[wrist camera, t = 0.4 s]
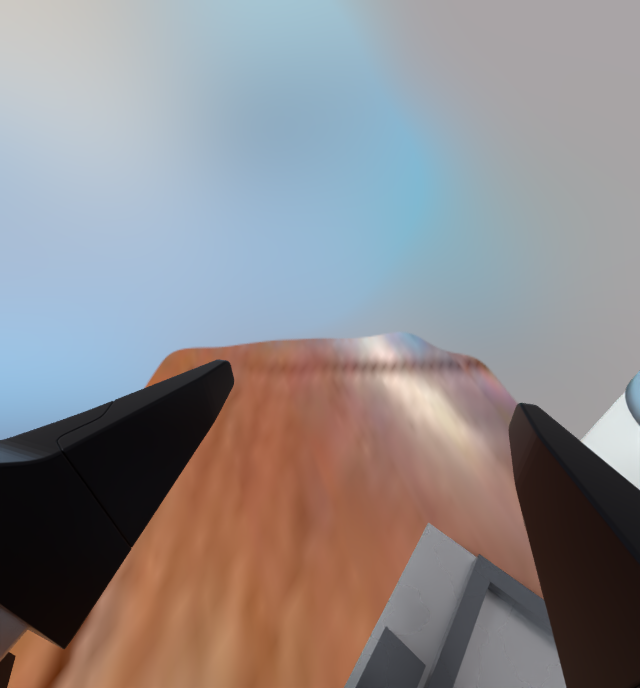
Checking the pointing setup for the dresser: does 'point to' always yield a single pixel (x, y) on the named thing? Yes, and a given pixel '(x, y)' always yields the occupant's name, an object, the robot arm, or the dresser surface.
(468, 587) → the digital kitchen scale
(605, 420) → the lidded container
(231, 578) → the dresser surface
